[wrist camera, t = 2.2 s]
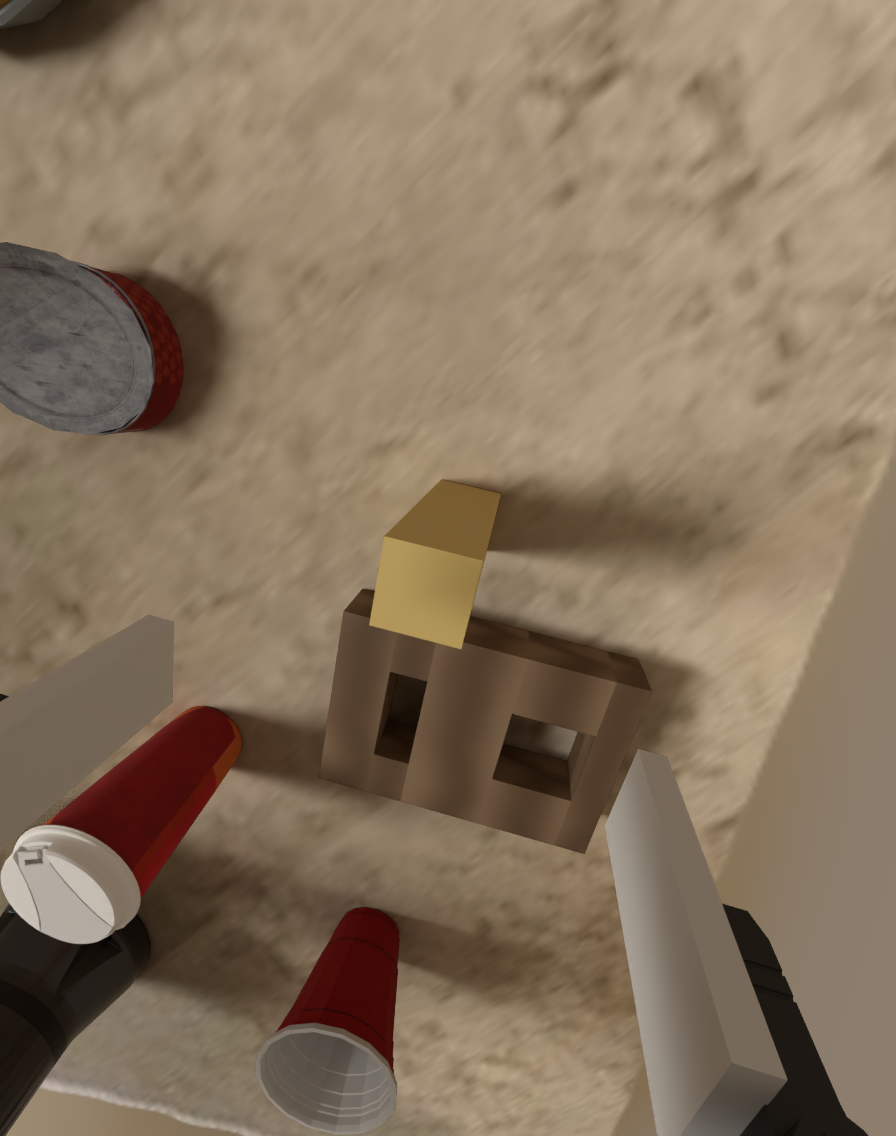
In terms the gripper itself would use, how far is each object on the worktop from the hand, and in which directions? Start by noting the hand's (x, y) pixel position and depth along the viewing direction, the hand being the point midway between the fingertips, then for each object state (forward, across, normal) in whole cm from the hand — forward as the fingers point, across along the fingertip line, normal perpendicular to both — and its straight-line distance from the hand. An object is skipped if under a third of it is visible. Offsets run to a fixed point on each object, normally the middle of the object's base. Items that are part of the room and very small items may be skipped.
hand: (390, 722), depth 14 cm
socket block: (+21, +3, -13) cm, 25 cm away
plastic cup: (+21, -1, -40) cm, 46 cm away
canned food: (+22, -26, +6) cm, 34 cm away
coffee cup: (+21, -18, -23) cm, 36 cm away
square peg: (+21, -1, +1) cm, 21 cm away
